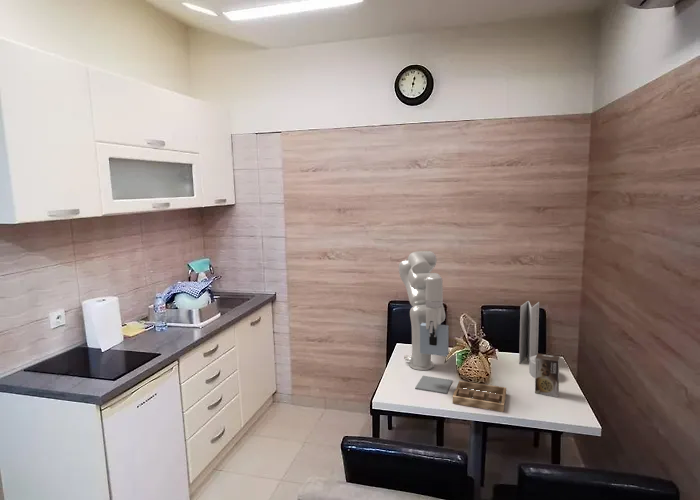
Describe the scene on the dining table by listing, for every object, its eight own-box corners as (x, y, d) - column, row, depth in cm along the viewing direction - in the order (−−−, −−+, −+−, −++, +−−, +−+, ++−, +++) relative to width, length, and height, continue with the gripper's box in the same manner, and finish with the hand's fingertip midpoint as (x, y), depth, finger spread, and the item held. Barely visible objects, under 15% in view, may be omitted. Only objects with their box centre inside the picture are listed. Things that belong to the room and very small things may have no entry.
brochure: (530, 366, 212) (532, 307, 208) (519, 363, 215) (520, 306, 212) (537, 357, 223) (539, 301, 220) (526, 355, 227) (528, 300, 223)
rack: (452, 403, 176) (452, 396, 175) (459, 386, 191) (459, 380, 190) (503, 412, 168) (503, 404, 167) (506, 394, 183) (506, 387, 182)
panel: (420, 353, 192) (419, 325, 190) (422, 350, 196) (422, 322, 194) (446, 356, 187) (446, 327, 186) (448, 353, 191) (448, 325, 189)
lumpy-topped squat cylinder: (550, 370, 206) (550, 353, 205) (558, 382, 193) (558, 363, 192) (527, 369, 208) (527, 352, 207) (533, 380, 195) (534, 362, 194)
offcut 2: (473, 404, 175) (473, 395, 174) (474, 400, 178) (474, 390, 178) (483, 405, 173) (483, 396, 173) (484, 401, 177) (484, 392, 176)
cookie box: (559, 391, 184) (560, 356, 182) (557, 397, 178) (559, 361, 176) (536, 387, 189) (537, 352, 187) (534, 393, 183) (535, 357, 181)
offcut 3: (488, 406, 172) (488, 397, 172) (489, 402, 176) (489, 393, 176) (498, 408, 171) (498, 399, 170) (499, 404, 174) (499, 394, 174)
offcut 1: (458, 401, 177) (458, 392, 177) (460, 397, 181) (460, 388, 180) (468, 403, 176) (468, 394, 175) (469, 399, 179) (469, 390, 179)
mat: (415, 388, 190) (415, 387, 190) (422, 376, 203) (422, 375, 203) (446, 394, 184) (446, 392, 184) (452, 381, 197) (452, 379, 197)
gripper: (430, 299, 198) (430, 337, 200) (421, 307, 183) (421, 348, 185) (446, 300, 195) (446, 338, 197) (438, 308, 180) (438, 350, 182)
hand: (434, 342), depth 191 cm, fingers closed on panel, 4 cm apart
